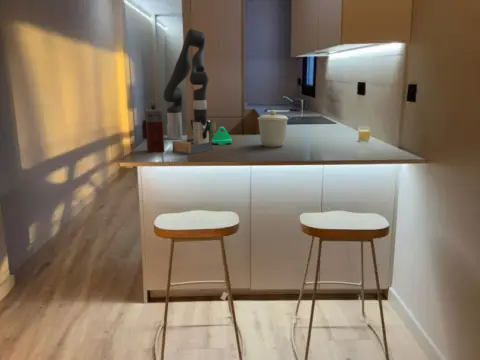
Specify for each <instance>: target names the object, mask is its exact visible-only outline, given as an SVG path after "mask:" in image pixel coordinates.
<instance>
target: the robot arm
mask: <svg viewBox="0 0 480 360" xmlns="http://www.w3.org/2000/svg"><path fill="white" fill-rule="evenodd" d="M206 40H207V39H206V34H205V33H204V32H202V31H199V30H195V29H192V28H190V29H188V31H187V33H186V35H185V37H184V42H183V45H182V49H181V51H180V53H179V56H178V59H177V61H176V64H175V65H174V69H173V71H172V74H171V76H170V79H169V81H168V82H167V85H166V86H165V89H164V90H163V99H164V100H163V101H165V102H167V103H171V104H172V105H171V106H169V107H168V108H167V109H166V112H167V113H166V116H167V124H166V134H167V135H166V137H167V139H168V140H181V139H183V119H182V111H183V110H182V109H183V92H182V89H181V88H180V87H178V86H179V85H180V84H181V82H184V80H185V79H186V78H187V77H188V76H189V82H190V84H191V85H193V86H201V87H200V88H197V89H194V90H193V104H192V105H193V107H192V108H193V117H194V118H193V119H190V125H191V130H192V131H193V123H195V122H199V123H202V130H203V139H206V138H207V131H210V125H211V121H212V120H208V119H207V117H208V105H207V89H208V88H207V87H208V84H209V80H210V76H209V74H208V72H206V71H205V68H206V66H205V53H206V52H205V50H206ZM190 47H194V48H198V50H197V51H196V53H194V54H193V56H192V58H191V56H190V51H189V49H190ZM190 71H191V72H190ZM189 73H190V75H189ZM204 125H205V126H204ZM204 128H205V129H204Z"/></svg>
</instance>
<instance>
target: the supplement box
mask: <svg viewBox="0 0 480 360" xmlns="http://www.w3.org/2000/svg"><path fill="white" fill-rule="evenodd" d="M204 126H205V125H204ZM204 129H205V128H204ZM192 134H193V135H192V136H193V141H194V145H197V144H202V143H207V142H210V141H209V132H208V131H207V138H206V139H203V130H202V123H199V122H195V123H193V130H192Z"/></svg>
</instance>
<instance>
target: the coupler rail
mask: <svg viewBox="0 0 480 360" xmlns="http://www.w3.org/2000/svg"><path fill="white" fill-rule="evenodd" d="M213 149H214V148H213V143H212V141H209V142H207V143H202V144H197V145H194V140H193V141H188V142H185V141H179V140H178V141H177V140H173V141H172V152H173V153H175V154H184V155H192V154H196V153H197V154H198V153H201V152H205V151H210V150H213Z"/></svg>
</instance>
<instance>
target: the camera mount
mask: <svg viewBox="0 0 480 360" xmlns="http://www.w3.org/2000/svg"><path fill="white" fill-rule="evenodd" d="M221 130H223V131H221ZM215 132H216V134H215V135H214V137H213V139H212V141H211V142H212V144H217V145H218V146H221V145H222V146H226V145H227V144H232V143H233V140H232V137H231V136H230V133H228V130H226V128H225V127H224V126H219V127H218V128H217V129H216V131H215Z"/></svg>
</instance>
